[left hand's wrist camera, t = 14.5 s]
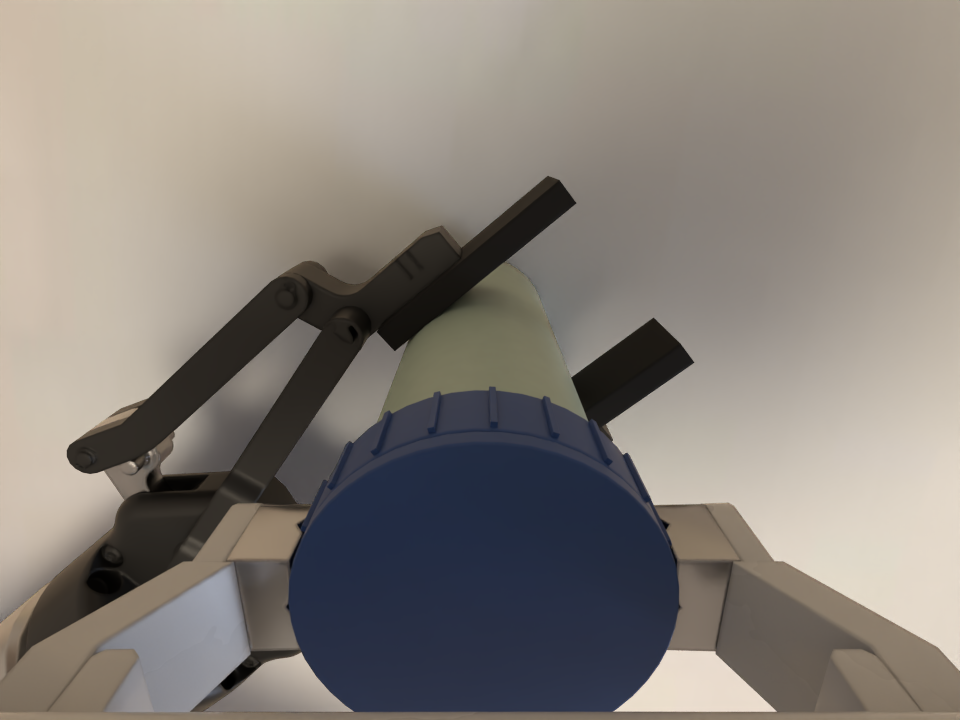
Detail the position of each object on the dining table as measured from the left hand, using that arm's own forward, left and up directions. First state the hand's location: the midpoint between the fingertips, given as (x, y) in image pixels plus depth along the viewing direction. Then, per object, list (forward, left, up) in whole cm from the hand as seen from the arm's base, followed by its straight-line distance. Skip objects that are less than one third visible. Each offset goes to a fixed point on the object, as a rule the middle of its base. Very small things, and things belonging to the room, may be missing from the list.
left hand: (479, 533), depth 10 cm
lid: (0, 0, +2) cm, 2 cm away
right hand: (-5, +2, -8) cm, 10 cm away
